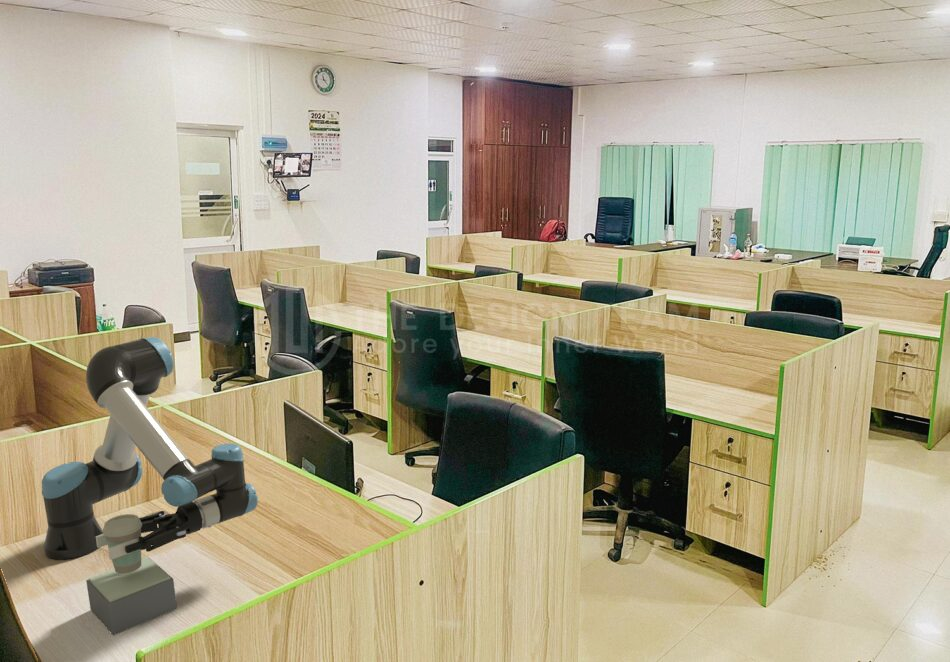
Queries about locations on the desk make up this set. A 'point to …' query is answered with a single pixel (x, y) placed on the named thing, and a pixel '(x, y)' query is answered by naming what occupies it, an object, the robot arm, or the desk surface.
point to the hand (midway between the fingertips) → (103, 547)
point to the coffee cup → (124, 540)
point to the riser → (131, 596)
